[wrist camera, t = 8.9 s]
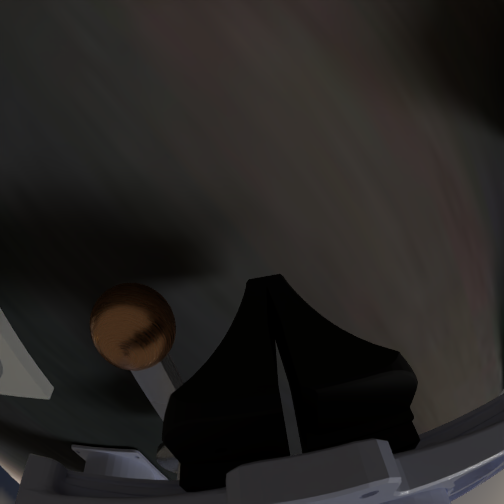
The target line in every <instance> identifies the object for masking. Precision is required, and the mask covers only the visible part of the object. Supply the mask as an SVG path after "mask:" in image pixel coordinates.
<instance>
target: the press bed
mask: <svg viewBox="0 0 504 504" xmlns="http://www.w3.org/2000/svg"><path fill="white" fill-rule="evenodd" d="M53 389H54V387H53V386H52V385H51V383H50V382H49V381H48V379H47V378H46V377H45V375H44V374H43V373H42V371H41V370H40V369H39V367H38V366H37V365H36V363H35V362H34V360H33V359H32V357H31V356H30V355H29V353H28V352H27V350H26V349H25V347H24V346H23V344H22V343H21V341H20V340H19V338H18V336H17V335H16V333H15V332H14V330H13V328H12V327H11V325H10V323H9V322H8V320H7V318H6V317H5V315H4V313H3V312H2V310H1V308H0V394H3V395H11V396H19V397H28V398H38V399H50V397H51V394H52V392H53Z"/></svg>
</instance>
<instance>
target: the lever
mask: <svg viewBox="0 0 504 504" xmlns="http://www.w3.org/2000/svg"><path fill="white" fill-rule="evenodd" d="M90 333H91V338H92V340H93V343H94V345H95V347H96V349H97V350H98V352H99V353H100V354H101V356H102V357H103V358H104V359H106V360H107V361H108V362H109V363H111V364H112V365H114V366H116V367H118V368H121V369H124V370H130V371H131V372H132V374H133V376H134V377H135V379H136V381H137V382H138V384H139V385H140V387H141V389H142V390H143V392H144V393H145V395H146V396H147V398H148V399H149V401H150V402H151V404H152V405H153V407H154V408H155V410H156V411H157V413H158V414H159V416H160V417H161V419H162V420H163V421H164V415H165V411H166V408H167V404H168V401H169V398H170V395H171V394H172V393H173V392H174V391H176V390H177V389H178V388H179V387H180V386H182V385H183V384H184V382H183V380H182V378H181V376H180V374H179V372H178V370H177V368H176V366H175V364H174V362H173V360H172V358H171V355H170V353H169V351H170V350H171V348H172V345H173V343H174V339H175V334H176V324H175V318H174V315H173V312H172V309H171V307H170V306H169V304H168V303H167V301H166V300H165V299H164V297H163V296H162V295H161V294H159V293H158V292H157V291H156V290H154V289H152V288H150V287H148V286H146V285H143V284H139V283H123V284H119V285H116V286H113V287H112V288H110V289H108V290H107V291H105V292H104V293H103V294H102V295H101V296H100V297H99V299H98V300H97V301H96V303H95V305H94V307H93V309H92V312H91V317H90Z"/></svg>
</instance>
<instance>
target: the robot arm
mask: <svg viewBox="0 0 504 504" xmlns="http://www.w3.org/2000/svg"><path fill="white" fill-rule="evenodd" d="M275 340H276V343H277V347H278V350H279V353H280V356H281V360H282V363H283V366H284V369H285V372H286V376H287V379H288V382H289V386H290V390H291V395H292V400H293V405H294V410H295V416H296V421H297V426H298V431H299V437H300V442H301V448H302V453H303V454H297V455H292V456H290V451H289V445H288V439H287V434H286V428H285V422H284V416H283V410H282V404H281V398H280V393H279V386H278V374H277V360H276V346H275ZM417 384H418V381H417V378H416V375H415V374H414V372H413V370H412V368H411V367H410V365H409V364H408V363H407V361H406V360H405V359H404V357H403V356H402V355H401V354H400V352H398V351H395V350H392V349H388V348H385V347H382V346H378V345H375V344H373V343H370V342H368V341H365V340H363V339H360V338H358V337H356V336H354V335H352V334H350V333H348V332H346V331H344V330H343V329H341V328H339V327H338V326H336V325H334V324H333V323H331V322H330V321H328V320H327V319H326V318H324V317H323V316H322V315H320V314H319V313H318V312H317V311H315V310H314V309H313V308H312V307H311V306H310V305H308V304H307V303H306V302H305V301H304V300H303V299H302V298H301V297H300V296H299V295H298V294H297V293H296V292H295V291H294V289H293V288H292V287H291V286H290V285H289V284H288V282H287V281H286V280H285V278H284V277H283V276H282V275H281V274H277V275H271V276H266V277H260V278H254V279H249V280H248V281H247V283H246V289H245V293H244V296H243V299H242V302H241V304H240V307H239V310H238V312H237V314H236V316H235V318H234V320H233V323H232V325H231V327H230V328H229V330H228V332H227V334H226V335H225V337H224V339H223V340H222V342H221V343H220V345H219V346H218V347H217V349H216V350H215V351H214V353H213V354H212V355H211V357H210V358H209V359H208V360H207V362H206V363H205V364H204V365H203V366H202V367H201V368H200V369H199V370H198V371H197V372H196V373H195V374H194V375H193V376H192V377H191V378H190V379H189V380H188V381H187V382H185V383H184V384H183V385H182V386H180V387H179V388H178V389H177V390H176V391H174V392H173V393H172V394H171V395H170V398H169V401H168V404H167V408H166V411H165V415H164V422H163V431H162V441H163V443H164V444H165V446H166V447H167V448H168V450H169V451H170V452H171V453H172V454H173V455H174V457H175V458H176V459H177V460H178V461H179V462H180V480H168V479H167V478H166V477H165V476H164V475H163V474H162V473H161V472H160V471H159V470H157V469H156V468H155V467H154V466H153V465H152V464H151V463H150V462H149V461H148V460H147V459H146V458H145V457H144V456H143V455H142V454H141V453H140V452H139V451H138V450H134V449H115V448H102V447H91V446H82V445H72V446H71V448H72V450H74V451H75V452H76V453H77V454H78V455H79V456H80V457H82V458H83V459H84V460H85V461H86V463H85V468H84V472H78V471H72V470H67V469H66V467H64V466H63V465H62V464H61V463H60V462H58V461H56V460H54V459H52V458H49V457H44V456H39V455H35V454H29V457H28V460H27V463H26V466H25V470H24V473H23V476H22V480H21V483H20V487H19V491H18V494H17V498H16V502H15V504H451V501H453V500H455V499H457V498H458V497H460V496H462V495H464V494H465V493H467V492H469V491H470V490H472V489H474V488H475V487H477V486H479V485H480V484H482V483H483V482H485V481H486V480H488V479H489V478H491V477H492V476H494V475H495V474H497V473H498V472H500V471H501V470H503V469H504V394H502V395H500V396H499V397H497V398H495V399H493V400H492V401H490V402H488V403H486V404H484V405H482V406H481V407H479V408H477V409H475V410H473V411H471V412H469V413H467V414H465V415H463V416H461V417H459V418H457V419H455V420H453V421H450V422H448V423H446V424H444V425H442V426H439V427H437V428H435V429H432V430H430V431H427V432H425V433H423V434H420V435H418V434H417V431H416V429H415V427H414V425H413V423H412V421H413V419H414V415H413V413H412V411H411V409H410V405H411V403H412V400H413V397H414V395H415V392H416V389H417Z"/></svg>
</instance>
